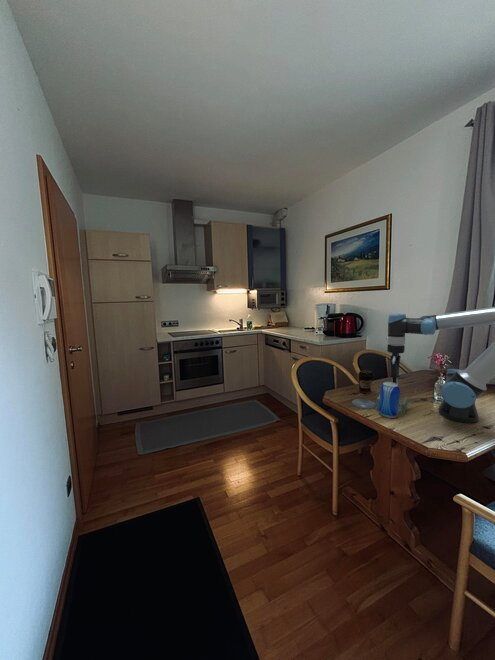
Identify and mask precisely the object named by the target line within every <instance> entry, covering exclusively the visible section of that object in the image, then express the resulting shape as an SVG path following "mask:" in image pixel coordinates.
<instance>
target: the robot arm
mask: <svg viewBox="0 0 495 660" xmlns="http://www.w3.org/2000/svg"><path fill="white" fill-rule="evenodd" d="M490 325H495V306H491V307H484V308H475V309H469V310H462V311H454V312H453V311H452V312H447V313H440V314H433V315H432V314H431V315H422V316H421V317H415V318H414V317H407V316H406V314H405V313H391V314H389V315H388V319H387V337H386V340H387V350H386V352H388V353H391V355H390V376H389V378H391V381H390V382H393V383H396V384H398V385H399V378H401V376H400V373H399V372H400V363H401V358H402V357H401V355H400V354H404V353H405V349H406V347H405V344H406V334H412V335H423V336H427V335H430V336H431V335H433V336H434V335H435V333H436V331H439V330H448V329H458V328H460V329H461V328H469V327H478V326H479V327H480V326H490ZM445 375H446V376H445V378H446V379H445V381H444V383H443V385H441V387H440V395H441V397H442V401H441V403H440V405H439V407H438V411H437V412H438V414H440V415H439V416H442V417H444V418H446V419H448V420H451V421H454V422H459V423H464V424H475V422H476V423H478V422H477V421H479V413H478V410H477V407H476V400H477V399H478V398H479V397H480V396H481V395H482V394H484V393H485V392H486V391H487V384H488V383H489V382H490V381H491V380H492V379H493V378H495V341H493V342H492V343H491V345H489V346H488V347H487V348H486V349H485V350H484V351H483V352H482V353H481V354H479V356H478V357H477V358H476V359H475V360H473V362H471V363H470V364H469V365H468V366H467V367H466V368H465V369H460V368H459V369H458V368H448V369H447V370H446V373H445Z"/></svg>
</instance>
